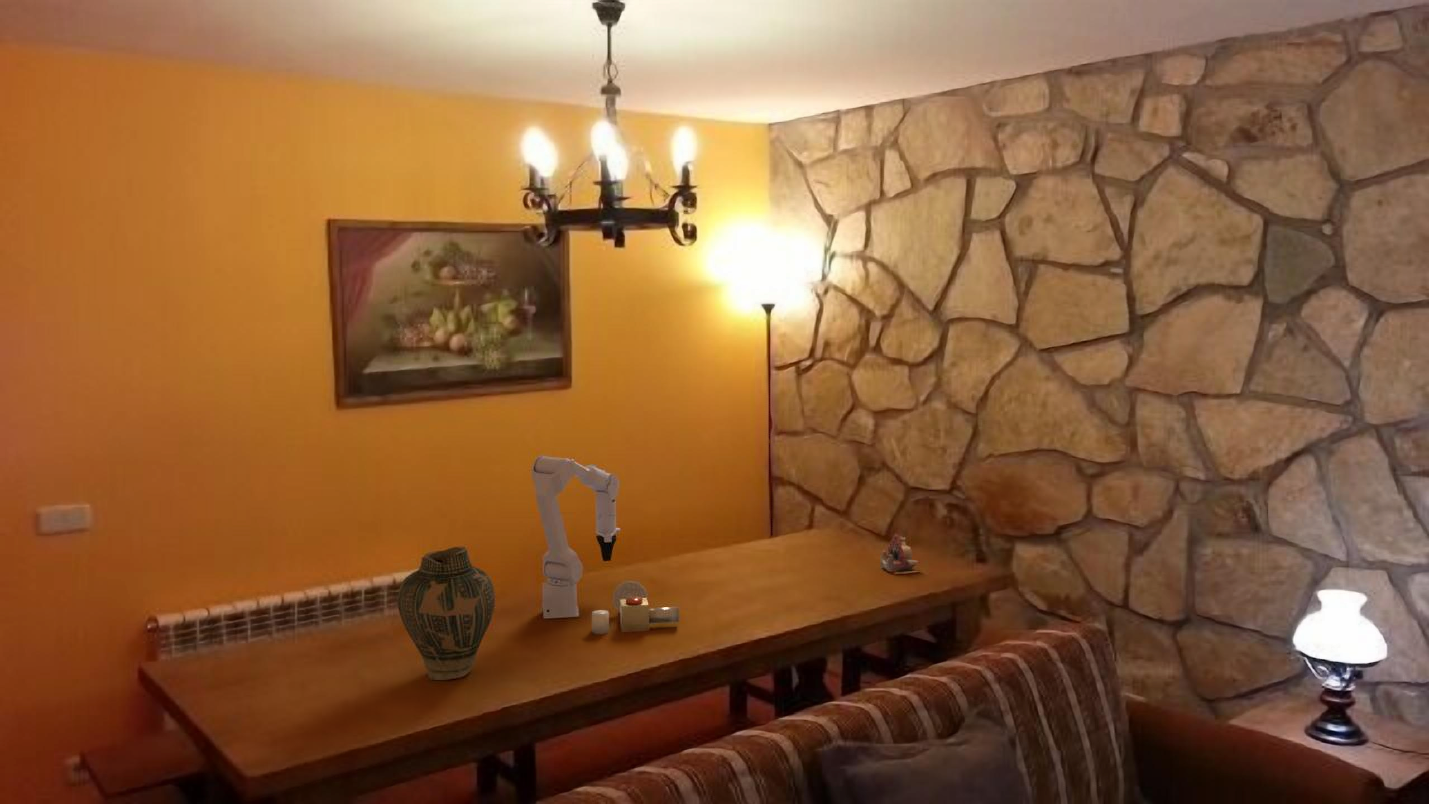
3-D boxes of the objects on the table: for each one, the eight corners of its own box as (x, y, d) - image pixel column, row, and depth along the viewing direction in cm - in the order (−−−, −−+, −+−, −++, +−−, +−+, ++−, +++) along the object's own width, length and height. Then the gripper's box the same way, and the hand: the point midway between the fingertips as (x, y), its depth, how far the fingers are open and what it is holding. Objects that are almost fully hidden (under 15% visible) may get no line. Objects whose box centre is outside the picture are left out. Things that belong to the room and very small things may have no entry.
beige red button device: (622, 632, 298) (621, 603, 297) (618, 618, 309) (618, 590, 308) (679, 629, 300) (679, 600, 299) (674, 615, 311) (673, 587, 310)
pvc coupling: (592, 634, 297) (592, 615, 296) (591, 629, 301) (591, 610, 300) (609, 633, 297) (609, 614, 297) (608, 628, 302) (608, 609, 301)
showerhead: (611, 613, 309) (614, 578, 314) (611, 622, 315) (614, 587, 320) (646, 616, 309) (648, 580, 314) (645, 624, 316) (647, 589, 321)
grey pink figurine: (868, 558, 359) (889, 526, 359) (893, 576, 362) (914, 545, 363) (884, 568, 348) (906, 535, 349) (909, 586, 351) (931, 554, 352)
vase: (516, 672, 271) (513, 548, 266) (437, 699, 254) (432, 568, 250) (460, 650, 285) (456, 532, 281) (381, 675, 269) (376, 550, 265)
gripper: (622, 519, 321) (622, 566, 323) (617, 508, 336) (618, 553, 337) (596, 520, 320) (597, 567, 322) (593, 508, 334) (594, 554, 336)
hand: (606, 560), depth 330 cm, fingers closed
